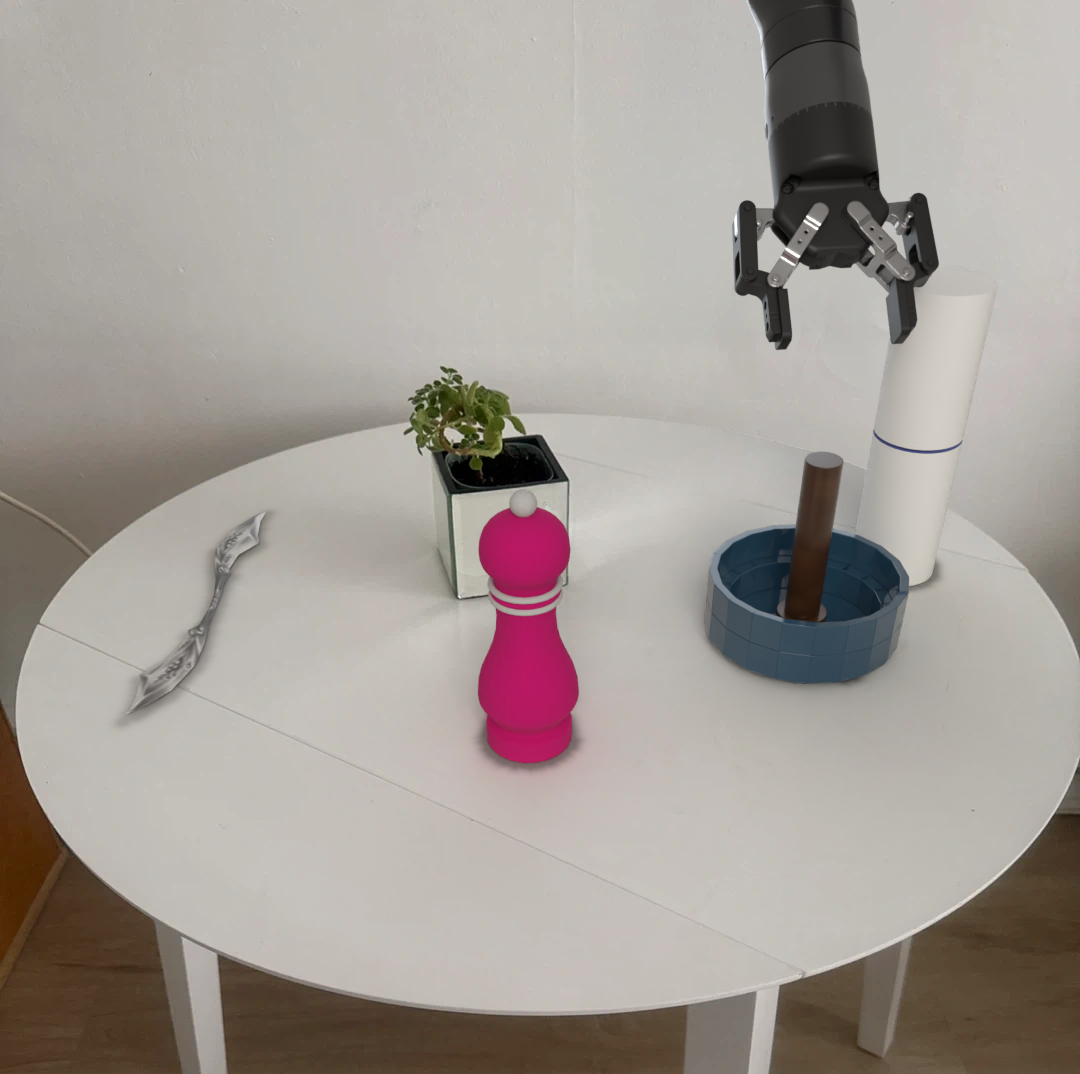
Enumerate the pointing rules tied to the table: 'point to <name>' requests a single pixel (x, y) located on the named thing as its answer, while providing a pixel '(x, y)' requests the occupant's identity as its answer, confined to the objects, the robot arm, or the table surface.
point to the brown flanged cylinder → (812, 538)
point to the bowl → (800, 646)
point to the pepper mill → (526, 634)
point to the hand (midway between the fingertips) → (843, 342)
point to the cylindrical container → (925, 418)
